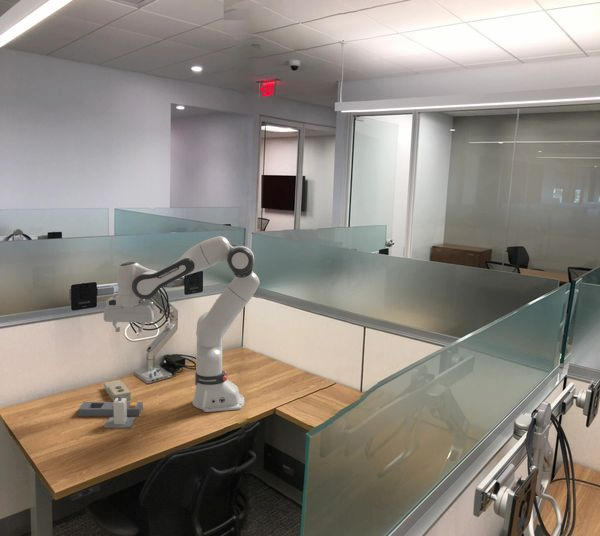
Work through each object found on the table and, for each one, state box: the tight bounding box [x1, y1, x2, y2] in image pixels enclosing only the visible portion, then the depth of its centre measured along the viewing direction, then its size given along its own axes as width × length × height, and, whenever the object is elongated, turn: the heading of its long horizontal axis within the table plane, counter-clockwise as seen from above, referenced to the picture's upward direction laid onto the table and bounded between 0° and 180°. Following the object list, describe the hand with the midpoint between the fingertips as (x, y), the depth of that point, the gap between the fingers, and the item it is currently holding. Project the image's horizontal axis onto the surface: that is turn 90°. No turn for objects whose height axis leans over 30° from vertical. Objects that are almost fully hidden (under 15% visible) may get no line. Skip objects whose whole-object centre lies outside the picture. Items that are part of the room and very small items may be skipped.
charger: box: [112, 396, 128, 424], centre depth 202 cm, size 4×4×11 cm
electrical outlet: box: [103, 379, 132, 402], centre depth 229 cm, size 7×4×18 cm
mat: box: [103, 416, 136, 429], centre depth 203 cm, size 10×8×1 cm
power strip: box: [77, 401, 144, 417], centre depth 211 cm, size 24×7×4 cm, turn 95°
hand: (129, 331), depth 218 cm, fingers open, 8 cm apart
